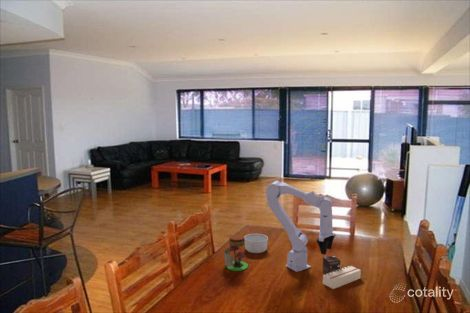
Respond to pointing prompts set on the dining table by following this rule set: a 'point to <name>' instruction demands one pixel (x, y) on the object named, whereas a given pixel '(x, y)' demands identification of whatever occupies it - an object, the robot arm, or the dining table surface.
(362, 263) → the dining table surface
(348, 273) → the striped peg rail
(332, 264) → the box
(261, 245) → the ramekin
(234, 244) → the plant terrarium
